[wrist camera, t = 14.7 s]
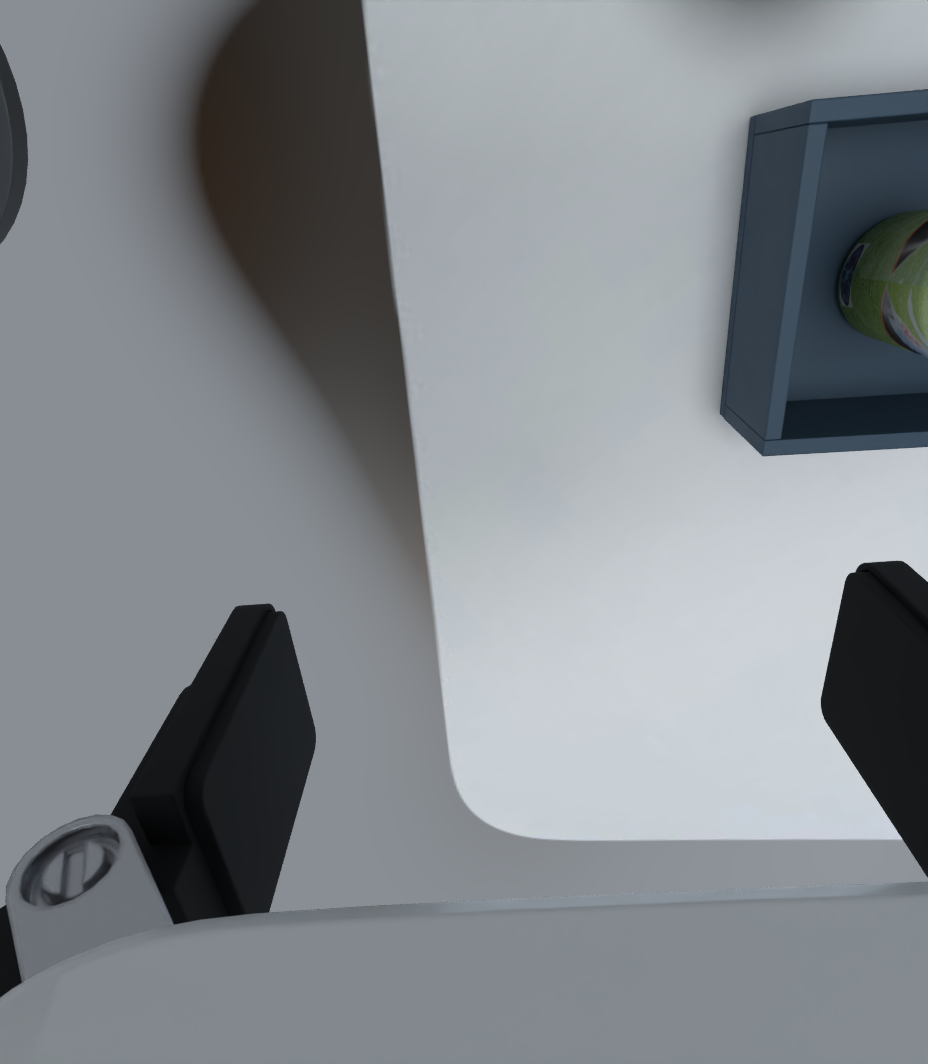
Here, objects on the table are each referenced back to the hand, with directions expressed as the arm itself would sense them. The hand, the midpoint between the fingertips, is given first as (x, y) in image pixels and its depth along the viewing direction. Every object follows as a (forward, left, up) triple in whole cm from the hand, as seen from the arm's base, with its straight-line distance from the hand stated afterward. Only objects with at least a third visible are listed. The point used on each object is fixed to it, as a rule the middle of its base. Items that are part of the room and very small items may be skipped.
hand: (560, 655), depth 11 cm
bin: (-2, +19, -28) cm, 34 cm away
